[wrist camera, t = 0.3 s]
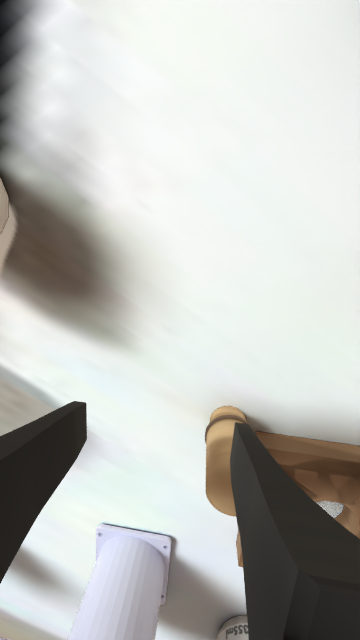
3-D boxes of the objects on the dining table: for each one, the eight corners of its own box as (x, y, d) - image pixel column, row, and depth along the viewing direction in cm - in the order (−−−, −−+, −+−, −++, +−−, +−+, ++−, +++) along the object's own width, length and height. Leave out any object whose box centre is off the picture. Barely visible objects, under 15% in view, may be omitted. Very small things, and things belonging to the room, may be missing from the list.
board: (372, 568, 24) (387, 595, 22) (236, 542, 25) (238, 566, 23) (412, 453, 21) (433, 473, 19) (255, 431, 22) (260, 447, 20)
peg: (247, 444, 22) (264, 522, 16) (203, 437, 23) (201, 511, 16) (254, 405, 21) (274, 470, 15) (208, 399, 22) (207, 459, 15)
